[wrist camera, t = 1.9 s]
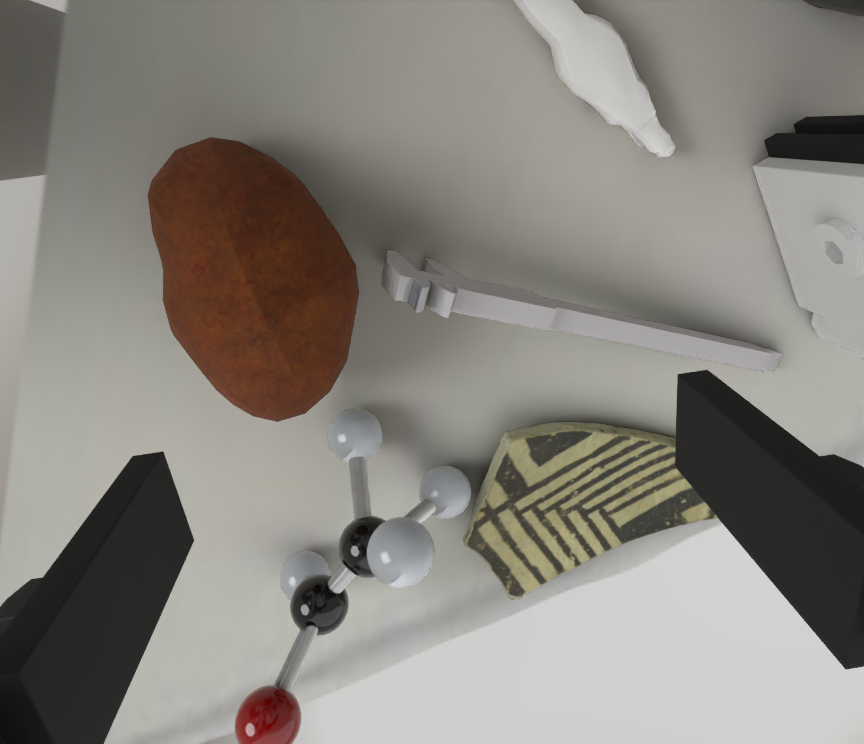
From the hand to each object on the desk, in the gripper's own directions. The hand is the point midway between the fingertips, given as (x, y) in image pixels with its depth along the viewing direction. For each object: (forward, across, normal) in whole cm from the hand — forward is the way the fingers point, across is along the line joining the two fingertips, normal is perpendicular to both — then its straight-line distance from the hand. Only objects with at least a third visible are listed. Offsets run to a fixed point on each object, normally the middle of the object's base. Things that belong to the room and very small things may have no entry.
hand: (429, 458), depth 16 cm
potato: (+15, -6, +2) cm, 16 cm away
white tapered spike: (+15, +7, +11) cm, 20 cm away
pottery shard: (+14, +9, -13) cm, 22 cm away
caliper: (+14, +9, -2) cm, 17 cm away
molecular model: (+14, -5, -11) cm, 19 cm away
